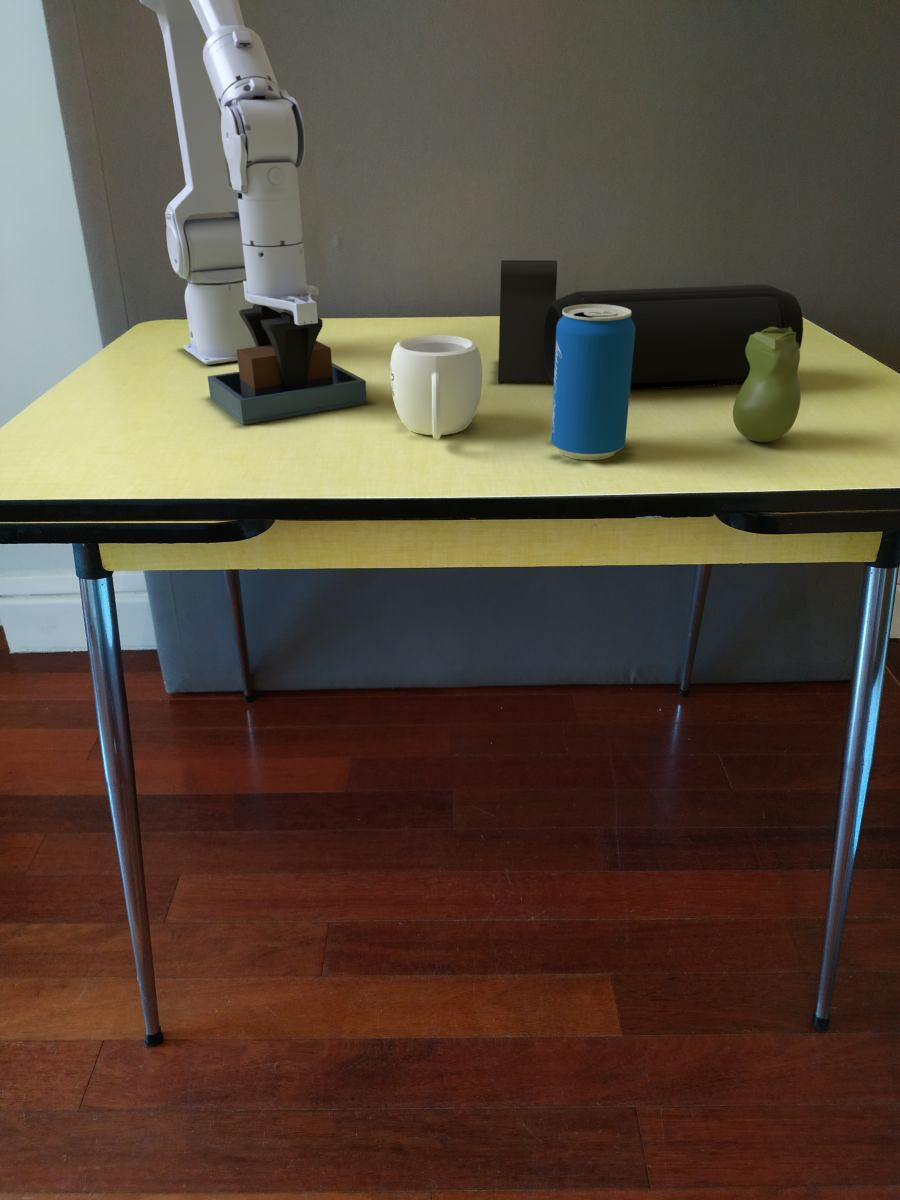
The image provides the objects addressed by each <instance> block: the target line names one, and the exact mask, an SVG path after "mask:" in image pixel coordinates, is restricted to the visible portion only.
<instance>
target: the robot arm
mask: <svg viewBox="0 0 900 1200" xmlns="http://www.w3.org/2000/svg"><path fill="white" fill-rule="evenodd" d="M139 3H140V4H141V5H143V6H144V7H146V8H148V9H149V10H151V11H153V12H154V13H155V14H156V16H157V21H158V23H159V27H160V30H161V33H162V38H163V43H164V44H163V45H164V50H165V58H166V63H167V70H168V77H169V83H170V89H171V96H172V102H173V109H174V116H175V121H176V122H175V123H176V129H177V135H178V142H179V148H180V149H179V150H180V154H181V161H182V169H183V173H184V175H183V176H184V181H185V186H184V188H182V190H181V191H180V192H179V193H178V194H177V195H176V196H174V198H172V200H170V202H169V203H168V204H167V205H166V209H165V211H164V212H165V213H164V215H165V223H166V234H165V235H166V244H167V251H168V256H169V261H170V264H171V267H172V269H173V271H174V273H175V274H176V275H178V277H179V278H180V279H184V280H185V281H187V286H186V287H185V291H184V304H185V312H186V318H187V327H188V332H189V333H188V334H189V339H190V343H189V344H187V343H186V344H184V345H183V349H184V350H185V351H186V352H188V353H189V354H190V355H192V356H193V357H194V358H196V359H197V360H199V361H200V362H201V363H203V364H204V365H209V366H210V365H215V364H224V363H230V362H238V358H237V350H238V349H245V348H252V347H260V346H267V345H272V346H273V349H274V352H275V355H276V358H277V363H278V367H279V372H280V377H281V380H282V384H283V386H284V389H285V391H287V392H288V391H294V390H300V389H306V386H307V381H308V375H309V368H310V361H311V356H312V352H313V348H314V345H315V342H316V341H317V339H318V337H319V334H320V333H321V330H322V328H323V325H324V323H323V319H322V318H320V317H319V316H318V305H317V301H315V300H313V299H312V297H315V296H316V297H317V296H319V294H320V293H319V288H318V287H317V286H314V285H308V284H307V283H308V282H307V270H306V259H305V258H306V257H305V247H304V235H303V223H302V221H303V220H302V209H301V197H300V183H299V172H298V169H299V168H301V167H302V165H303V164H304V160H305V156H306V130H305V124H304V123H305V122H304V119H303V114H302V111H301V108H300V105H299V103H298V102H297V100H296V98H294V97H293V96H290V95H289V92H288V90H287V89H281V88H280V87H279V84H278V81H277V78H276V76H275V73H274V70H273V68H272V65H271V62H270V59H269V57H268V54H267V51H266V48H265V45H264V43H263V40H262V39H261V37H260V35H258V34H257V32H255V31H254V30H253V29H251V28H248V27H246V25H245V21H244V18H243V13H242V9H241V6H240V2H239V0H139ZM220 113H221V114H220ZM227 165H228V168H227ZM228 171H229V175H228ZM229 178H230V182H229ZM230 184H231V186H230ZM220 213H221V214H222V213H229V214H231V215H232V216H221V217H205V218H190V219H188V218H189V217H191V216H194V215H203V214H204V215H205V214H206V215H207V214H220Z"/></svg>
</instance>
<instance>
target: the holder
mask: <svg viewBox="0 0 900 1200" xmlns="http://www.w3.org/2000/svg"><path fill="white" fill-rule="evenodd" d="M332 372H333V384H331V385H325V386H319V387H313V388H306V389H300V390H294V391H288V392H281V393H275V394H269V395H263V396H256V397H250V398H243V397H242V392H241V383H240V375H239V371H234V372H225V373H221V374H213V375H208V376H207V382H208V389H209V397H210V398H209V399H210V400H211V401H212V402H214V403H215V404H216V405H218V406H219V407H220V408H221V409H222V410H223V411H225V412H226V413H228V414H229V415H230V416H232V417H233V418H234V420H236V421H238V422H239V423H240V424H241V425H243V426H247V425H253V424H257V423H258V424H259V423H262V422H270V421H274V420H275V421H276V420H281V419H288V418H293V417H298V416H303V415H310V414H316V413H321V412H327V411H332V410H339V409H344V408H351V407H355V406H362V405H366V404H368V398H367V397H368V395H367V394H368V393H367V381H366V379H363V378H362V377H360V376H358V375H357V374H354V373H352V372H350V371H348V369H345V368H343V367H341V366H340V365H337V364H336V363H333V362H332Z"/></svg>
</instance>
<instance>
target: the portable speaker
mask: <svg viewBox="0 0 900 1200" xmlns="http://www.w3.org/2000/svg"><path fill="white" fill-rule="evenodd" d="M583 304H605V305H615V306H620V307H625V308H627V309H629V310H631V312H632V313H631V316H630V318H631V319H632V321H633V323H634V325H635V339H634V351H633V362H632V373H631V384H630V391H637V390H655V389H656V390H658V389H673V388H674V389H677V388H693V387H711V386H712V387H713V386H729V385H732V386H733V385H743V384H744V382H745V381H746V379H747V377H748V375H749V372H750V364H749V362H748V359H747V357H746V353H745V349H746V345H747V343H748V341H749V337H750V335H753V334H755V333H756V332H761V331H763V330H765V329H767V328H769V327H776V328H779V329H782V328H784V329H785V328H786V327H787V328H789V327H791V329H792V331H793V332H796V337H795V340H796V342H798V344H799V349H800V350H801V347H802V341H803V337H804V317H803V312H802V308H801V305H800V303H799V301H798V299H797V297H796V296H794V295H793V294H792V293H790V292H788V291H786V290H783V289H780V288H777V287H775V286H772V285H769V284H738V285H736V284H735V285H714V286H713V285H711V286H688V287H687V286H686V287H684V286H683V287H659V288H657V287H656V288H634V289H629V288H628V289H605V290H582V291H575V292H571V293H570V294H567V295H564V296H563V297H560V298H556V300H555V301H553V302H551V303H550V304H549V306H548V308H547V311H546V315H545V321H544V329H543V353H544V362H545V367H546V372H547V375H548V377H549V379H550V381H551V382H552V383H553V384H554V368H555V347H556V327H557V324H558V322H559V320H560V319H561V318H562V316H563V314H562V311H563V309H564V308H566V307H569V306H574V305H583Z"/></svg>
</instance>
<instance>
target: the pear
mask: <svg viewBox="0 0 900 1200" xmlns="http://www.w3.org/2000/svg"><path fill="white" fill-rule="evenodd" d="M795 337H796V332H793V331H792V329H791V327H789V328H787V327H786V328H785V329H784V328H782V329H779V328H776V327H769V328H767V329H765V330H763V331H761V332H756V333H755V334H753V335H750V337H749V341H748V343H747V345H746V349H745V353H746V357H747V359H748V362H749V364H750V372H749V375H748V377H747V379H746V381H745V382H744V384H742V385H741V387H740V389H739V390H738V393H737V396H736V398H735V399H734V400H735V401H734V404H733V408H732V420H733V424H734V426H735V428H736V430H737V432H738V433H739V434H741V435H742V436H743V437H744V438H745V439H747V440H750V441H752V442H757V443H769V442H774V441H776V440H779V439H781V438H782V437H784V436H785V435H786V434H788V432H789V431H790V430H791V429H792V427H793V426H794V425H795V422H796V420H797V417H798V415H799V410H800V406H801V398H802V387H801V382H800V377H799V373H798V372H799V365H800V361H801V348H800V349H799V344H798V342H796V340H795Z"/></svg>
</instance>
